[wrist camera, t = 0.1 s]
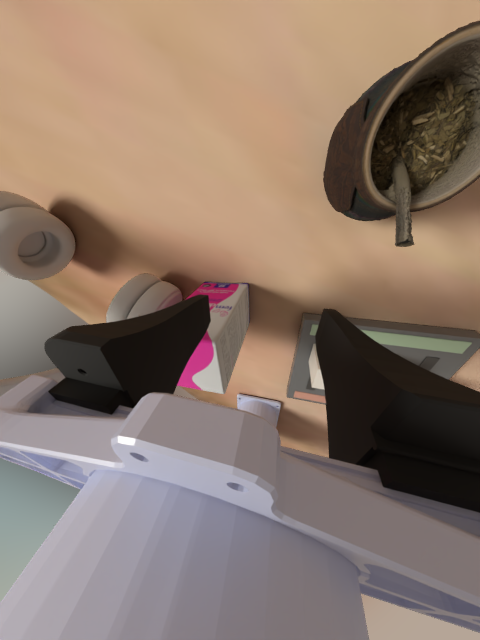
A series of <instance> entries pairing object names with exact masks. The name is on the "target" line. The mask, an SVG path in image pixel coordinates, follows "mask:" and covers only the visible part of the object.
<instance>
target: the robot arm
mask: <svg viewBox="0 0 480 640" xmlns="http://www.w3.org/2000/svg"><path fill="white" fill-rule="evenodd" d="M210 322H211V317H210V307H209V296H208V295H202V294H199V295H196V296H193V297H191V298H188V299H186V300H184V301H181V302H179V303H177V304H174V305H172V306H169V307H167V308H164V309H162V310H159V311H156V312H153V313H150V314H146V315H143V316H139V317H134V318H130V319H125V320H120V321H115V322H108V323H101V324H92V325H82V326H72V327H69V328H67V329H65V330H63V331H62V332H60V333H58V334H56V335H55V336H53V337H51V338H49V339H48V340H47V341H46V342H45V351H46V354H47V355H48V356H49V358H50V359H51V360H52V362H53V363H54V364H55V365H56V366H57V368H58V369H59V370H60V372H61V373H62V374H63V375H64V377H65V378H64V379H63V380H62V381H60V382H59V383H58V382H57V381H55V380H53V379H50V378H46V377H42V376H38V375H31V376H30V377H28V378H27V379H25V380H24V381H22V382H21V383H20V384H18V385H17V386H15V387H14V388H12V389H11V390H9V391H8V392H6V393H5V394H3V395H2V396H1V397H0V457H1V458H3V459H5V460H8V461H10V462H13V463H16V464H18V465H21V466H24V467H26V468H29V469H32V470H34V471H37V472H39V473H42V474H44V475H46V476H49V477H51V478H54V479H57V480H59V481H61V482H64V483H66V484H69V485H71V486H73V487H76V488H78V489H81V491H80V492H79V493H78V495H77V496H76V497H75V499H74V500H73V502H72V503H71V504H70V506H69V507H68V509H67V510H66V511H65V513H64V514H63V516H62V517H61V519H60V520H59V521H58V523H57V524H56V525H55V527H54V528H53V530H52V531H51V532H50V534H49V535H48V537H47V538H46V540H45V541H44V542H43V544H42V545H41V546H40V548H39V549H38V551H37V552H36V553H35V555H34V556H33V558H32V559H31V560H30V562H29V563H28V565H27V566H26V567H25V569H24V570H23V572H22V573H21V574H20V576H19V577H18V579H17V580H16V581H15V583H14V584H13V586H12V587H11V588H10V590H9V591H8V593H7V594H6V595H5V597H4V598H3V600H2V601H1V602H0V640H369V637H368V631H367V625H366V620H365V614H364V609H363V603H362V598H361V594H364V595H367V596H370V597H373V598H376V599H379V600H382V601H386V602H388V603H391V604H395V605H397V606H400V607H404V608H406V609H410V610H412V611H415V612H419V613H422V614H425V615H428V616H431V617H434V618H437V619H440V620H443V621H446V622H449V623H452V624H455V625H458V626H461V627H464V628H467V629H470V630H472V631H475V632H478V633H480V392H478V391H475V390H473V389H470V388H468V387H465V386H463V385H460V384H458V383H455V382H453V381H450V380H448V379H446V378H444V377H442V376H439V375H437V374H435V373H433V372H430V371H428V370H426V369H424V368H422V367H420V366H418V365H416V364H414V363H412V362H410V361H408V360H406V359H404V358H403V357H401V356H399V355H397V354H395V353H394V352H392V351H390V350H389V349H387V348H386V347H384V346H382V345H381V344H379V343H378V342H376V341H375V340H373V339H372V338H370V337H369V336H368V335H366V334H365V333H364V332H362V331H361V330H360V329H358V328H357V327H356V326H355V325H353V324H352V323H351V322H350V321H349V320H347V319H346V318H345V317H344V316H343V315H341V314H340V313H339V312H338V311H336V310H333V309H324V310H323V313H322V316H321V319H320V322H319V325H318V329H317V332H316V335H315V341H316V351H317V356H318V361H319V365H320V370H321V374H322V379H323V384H324V390H325V400H326V411H327V424H328V441H329V458H327V457H323V456H319V455H315V454H311V453H307V452H303V451H299V450H295V449H291V448H287V447H283V446H280V444H281V441H280V437H279V433H278V430H277V429H276V427H277V422H278V417H279V412H280V407H281V403H280V402H279V401H274V400H269V399H264V398H259V397H254V396H248V395H243V394H238V395H237V406H238V409H235V408H231V407H226V406H222V405H218V404H213V403H209V402H204V401H200V400H196V399H191V398H187V397H182V396H178V395H173V393H174V391H175V388H176V386H177V384H178V382H179V379H180V377H181V375H182V373H183V371H184V369H185V367H186V365H187V363H188V361H189V359H190V357H191V356H192V354H193V352H194V351H195V349H196V348H197V346H198V345H199V343H200V341H201V340H202V338H203V337H204V335H205V333H206V331H207V329H208V327H209V324H210Z"/></svg>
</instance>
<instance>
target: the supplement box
mask: <svg viewBox="0 0 480 640" xmlns="http://www.w3.org/2000/svg"><path fill="white" fill-rule="evenodd" d="M199 294H202V295H208V296H209V307H210V317H211V322H210V324H209V327H208V329H207V331H206V333H205V335H204V337H203V338H202V340H201V341H200V343H199V345H198V346H197V348H196V349H195V351H194V352H193V354H192V356H191V357H190V359H189V361H188V363H187V365H186V367H185V369H184V371H183V373H182V375H181V377H180V379H179V382H178V384H177V386H183V387H188V388H193V389H199V390H204V391H210V392H215V393H221V394H225V392H226V389H227V386H228V383H229V381H230V377H231V375H232V372H233V369H234V366H235V363H236V360H237V358H238V355H239V352H240V349H241V346H242V343H243V340H244V338H245V335H246V332H247V329H248V326H249V323H250V313H249V284H248V283H213V282H204V283H203V284H202V285H201V286H200V287H199V288H198V289H196V290H195V291H194V292H193V293H192V294H191V295H190V296H189V297H188V298H191V297H193V296H196V295H199ZM188 298H187V299H188ZM185 300H186V299H185Z"/></svg>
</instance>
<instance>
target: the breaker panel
mask: <svg viewBox="0 0 480 640" xmlns="http://www.w3.org/2000/svg"><path fill="white" fill-rule="evenodd" d="M321 316H322V315H319V314H309V313H303V317H302V322H301V326H300V331H299V335H298V340H297V345H296V349H295V354H294V358H293V363H292V368H291V372H290V377H289V381H288V386H287V397H288V398H293V399H299V400H304V401H309V402H314V403H320V404H325V405H326V400H325V390H324V389H318V388H312V385H311V377H310V369H309V358H310V355H311V351H312V348H313V344H316V341H315V335H316V332H317V329H318V325H319V322H320V319H321ZM345 318H346V319H347V320H349V321H350V322H351V323H352V324H353V325H355V326H356V327H357V328H358V329H360V330H361V331H362V332H364V333H365V334H366V335H368V336H369V337H370V338H372V339H373V340H375V341H376V342H378V343H379V344H381V345H382V346H384V347H386V348H387V349H389V350H390V351H392V352H394V353H395V354H397V355H399V356H401V357H403V358H404V359H406V360H408V361H410V362H412V363H414V364H416V365H418V366H420V367H422V368H424V369H426V370H428V371H430V372H433V373H435V374H437V375H439V376H442V377H444V378H446V379H448V380H449V379H450V378H451V377H452V376H453V375H454V374H455V373H456V371H457V370H458V369H459V368H460V367H461V366H462V365H463V364H464V363H465V362H466V361H467V360H468V359H469V358H470V357H471V356H472V355H473V354H474V353H475V352H476V351H477V350H478V349H479V348H480V334H479V333H478V332H476V331H475V330H465V329H456V328H446V327H436V326H426V325H417V324H407V323H397V322H387V321H378V320H368V319H358V318H348V317H345Z"/></svg>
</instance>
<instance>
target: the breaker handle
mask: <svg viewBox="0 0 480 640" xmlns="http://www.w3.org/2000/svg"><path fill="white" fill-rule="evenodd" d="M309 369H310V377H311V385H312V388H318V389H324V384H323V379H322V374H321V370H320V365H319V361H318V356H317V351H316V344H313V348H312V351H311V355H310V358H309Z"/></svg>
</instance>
